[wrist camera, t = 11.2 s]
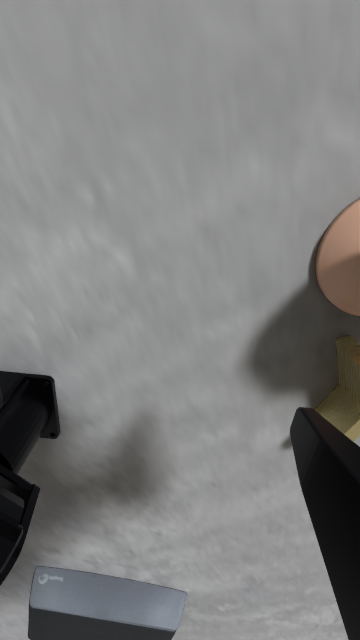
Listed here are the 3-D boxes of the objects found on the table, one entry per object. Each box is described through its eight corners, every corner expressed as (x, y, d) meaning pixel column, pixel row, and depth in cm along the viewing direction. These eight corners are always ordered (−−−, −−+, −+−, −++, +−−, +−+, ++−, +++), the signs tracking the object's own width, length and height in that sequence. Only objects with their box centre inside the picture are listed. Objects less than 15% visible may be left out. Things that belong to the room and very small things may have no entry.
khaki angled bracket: (335, 425, 25) (356, 461, 21) (304, 422, 25) (321, 457, 21) (372, 337, 21) (404, 365, 18) (337, 334, 21) (362, 361, 18)
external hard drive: (38, 557, 36) (20, 600, 33) (188, 585, 38) (188, 629, 34) (34, 605, 42) (19, 646, 38) (165, 627, 43) (163, 669, 39)
